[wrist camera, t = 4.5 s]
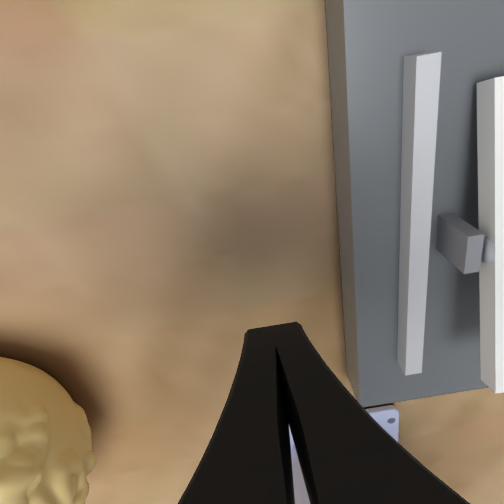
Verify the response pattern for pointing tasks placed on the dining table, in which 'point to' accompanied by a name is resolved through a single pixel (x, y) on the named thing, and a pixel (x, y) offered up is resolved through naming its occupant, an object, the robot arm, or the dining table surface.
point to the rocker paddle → (491, 229)
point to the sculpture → (41, 439)
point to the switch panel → (410, 188)
